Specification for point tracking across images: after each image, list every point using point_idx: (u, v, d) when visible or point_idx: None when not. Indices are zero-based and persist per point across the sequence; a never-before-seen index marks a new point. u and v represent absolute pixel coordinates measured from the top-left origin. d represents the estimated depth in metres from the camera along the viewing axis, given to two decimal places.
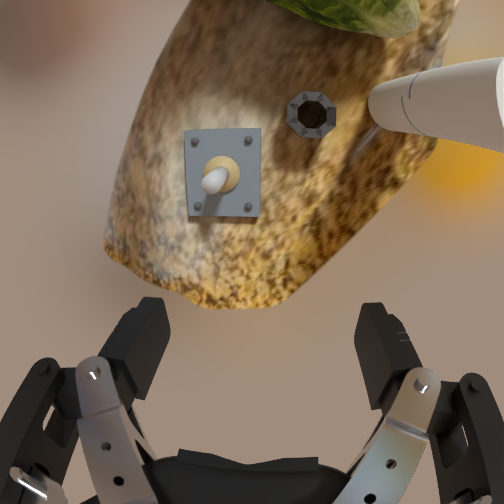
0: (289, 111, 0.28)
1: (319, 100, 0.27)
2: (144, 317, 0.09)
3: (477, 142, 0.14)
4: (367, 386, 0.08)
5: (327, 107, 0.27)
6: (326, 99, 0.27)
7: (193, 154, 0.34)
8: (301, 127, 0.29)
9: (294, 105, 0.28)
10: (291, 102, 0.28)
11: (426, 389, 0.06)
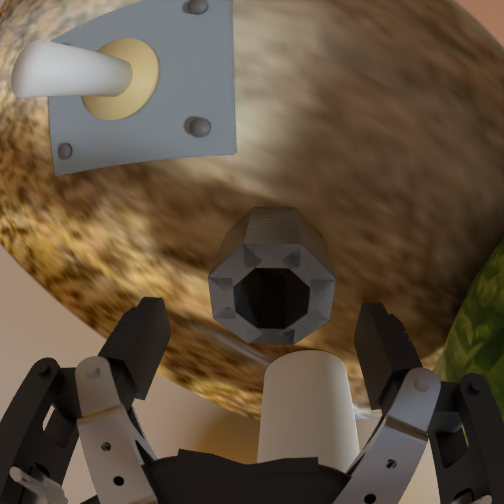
0: (276, 248, 0.11)
1: (309, 314, 0.13)
2: (144, 317, 0.09)
3: None
4: (367, 386, 0.08)
5: (292, 329, 0.13)
6: (313, 327, 0.13)
7: (166, 9, 0.09)
8: (233, 277, 0.12)
9: (294, 260, 0.11)
10: (303, 253, 0.11)
11: (426, 389, 0.06)
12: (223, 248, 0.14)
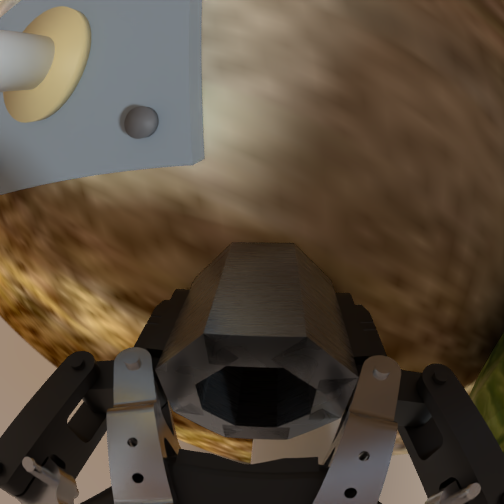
0: (262, 342, 0.06)
1: (312, 414, 0.07)
2: (180, 308, 0.10)
3: None
4: None
5: (286, 428, 0.08)
6: (316, 425, 0.08)
7: None
8: (193, 374, 0.07)
9: (294, 358, 0.06)
10: (310, 348, 0.06)
11: (384, 376, 0.06)
12: (184, 312, 0.09)
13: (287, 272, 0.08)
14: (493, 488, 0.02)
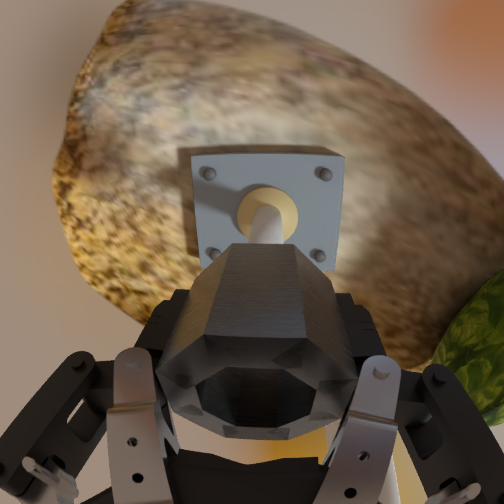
0: (262, 343, 0.06)
1: (312, 415, 0.07)
2: (180, 308, 0.10)
3: None
4: None
5: (286, 428, 0.08)
6: (316, 426, 0.08)
7: (302, 169, 0.20)
8: (193, 375, 0.07)
9: (294, 359, 0.06)
10: (310, 349, 0.06)
11: (384, 376, 0.06)
12: (183, 313, 0.09)
13: (287, 273, 0.08)
14: (493, 488, 0.02)
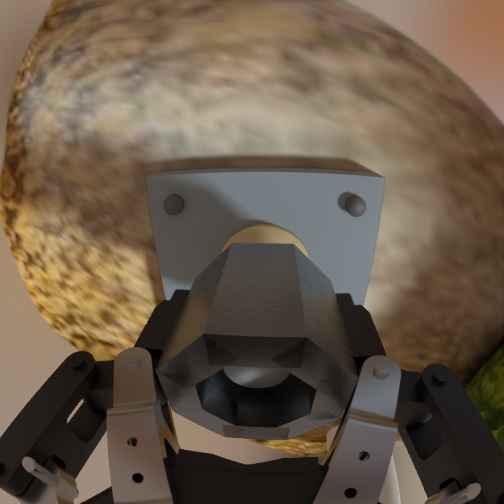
0: (262, 342, 0.06)
1: (312, 414, 0.07)
2: (180, 308, 0.10)
3: None
4: None
5: (286, 428, 0.08)
6: (316, 425, 0.08)
7: (319, 197, 0.13)
8: (193, 375, 0.07)
9: (294, 358, 0.06)
10: (310, 349, 0.06)
11: (384, 377, 0.06)
12: (184, 312, 0.09)
13: (287, 272, 0.08)
14: (493, 488, 0.02)
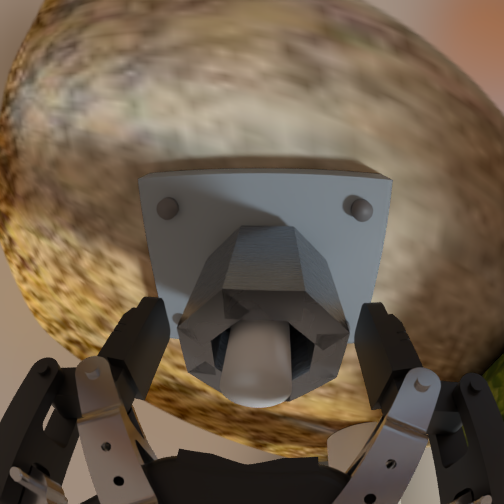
0: (270, 296, 0.08)
1: (311, 372, 0.09)
2: (144, 317, 0.09)
3: None
4: (367, 386, 0.08)
5: None
6: (315, 385, 0.09)
7: (323, 200, 0.12)
8: (210, 330, 0.08)
9: (295, 311, 0.08)
10: (308, 302, 0.08)
11: (426, 389, 0.06)
12: (200, 282, 0.10)
13: (288, 247, 0.10)
14: None
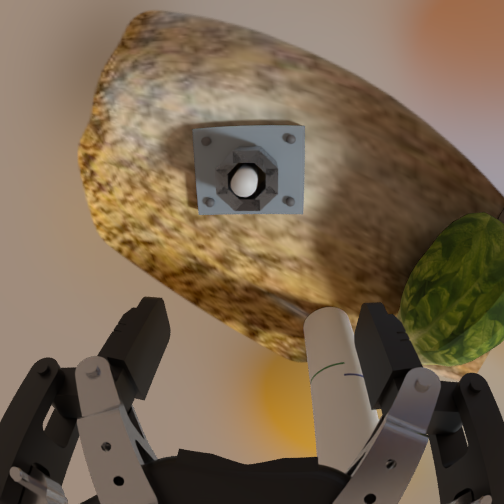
0: (248, 152, 0.23)
1: (266, 190, 0.24)
2: (144, 317, 0.09)
3: (320, 447, 0.21)
4: (366, 386, 0.08)
5: (258, 200, 0.25)
6: (269, 198, 0.25)
7: (273, 136, 0.27)
8: (227, 168, 0.24)
9: (256, 158, 0.23)
10: (260, 154, 0.23)
11: (426, 389, 0.06)
12: None
13: (256, 147, 0.25)
14: None
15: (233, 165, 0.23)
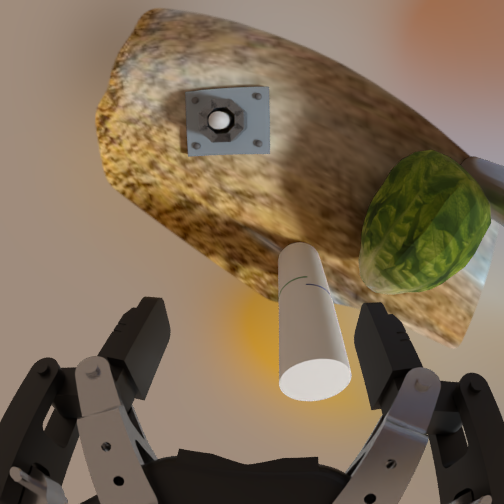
0: (221, 100, 0.30)
1: (235, 126, 0.31)
2: (144, 317, 0.09)
3: (281, 343, 0.28)
4: (367, 386, 0.08)
5: (229, 133, 0.32)
6: (237, 132, 0.31)
7: (245, 94, 0.34)
8: (207, 112, 0.30)
9: (228, 104, 0.30)
10: (230, 101, 0.30)
11: (426, 389, 0.06)
12: None
13: None
14: None
15: (211, 109, 0.30)
